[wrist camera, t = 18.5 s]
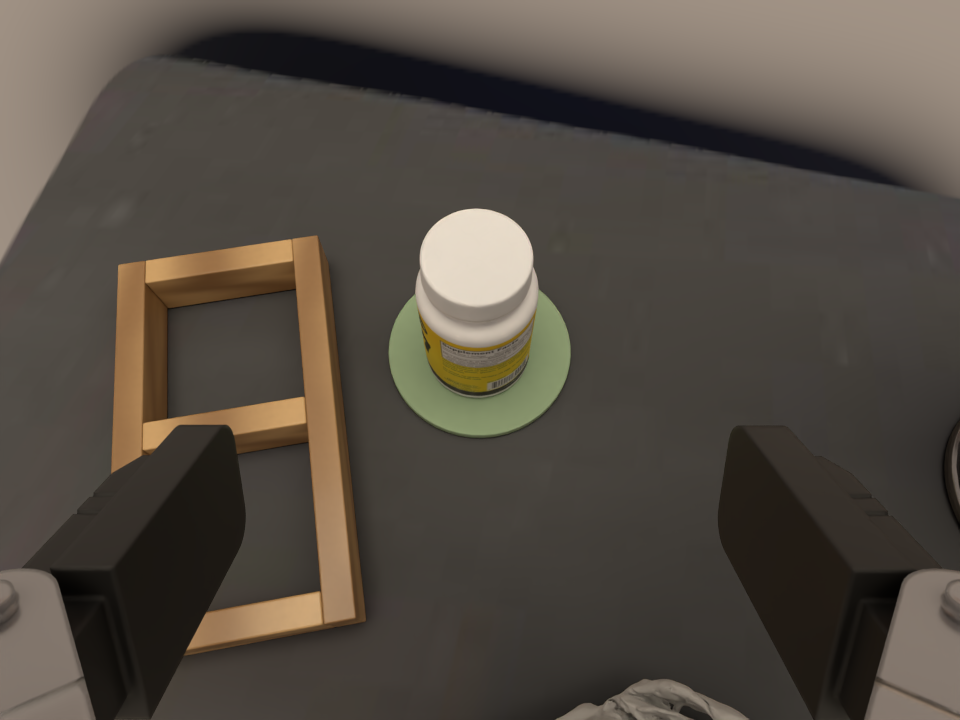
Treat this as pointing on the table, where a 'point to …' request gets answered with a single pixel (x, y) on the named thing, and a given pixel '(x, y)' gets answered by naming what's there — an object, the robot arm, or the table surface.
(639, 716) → the skull
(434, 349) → the supplement bottle
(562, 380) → the coaster
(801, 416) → the table surface
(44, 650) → the robot arm
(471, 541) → the table surface
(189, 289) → the rack
